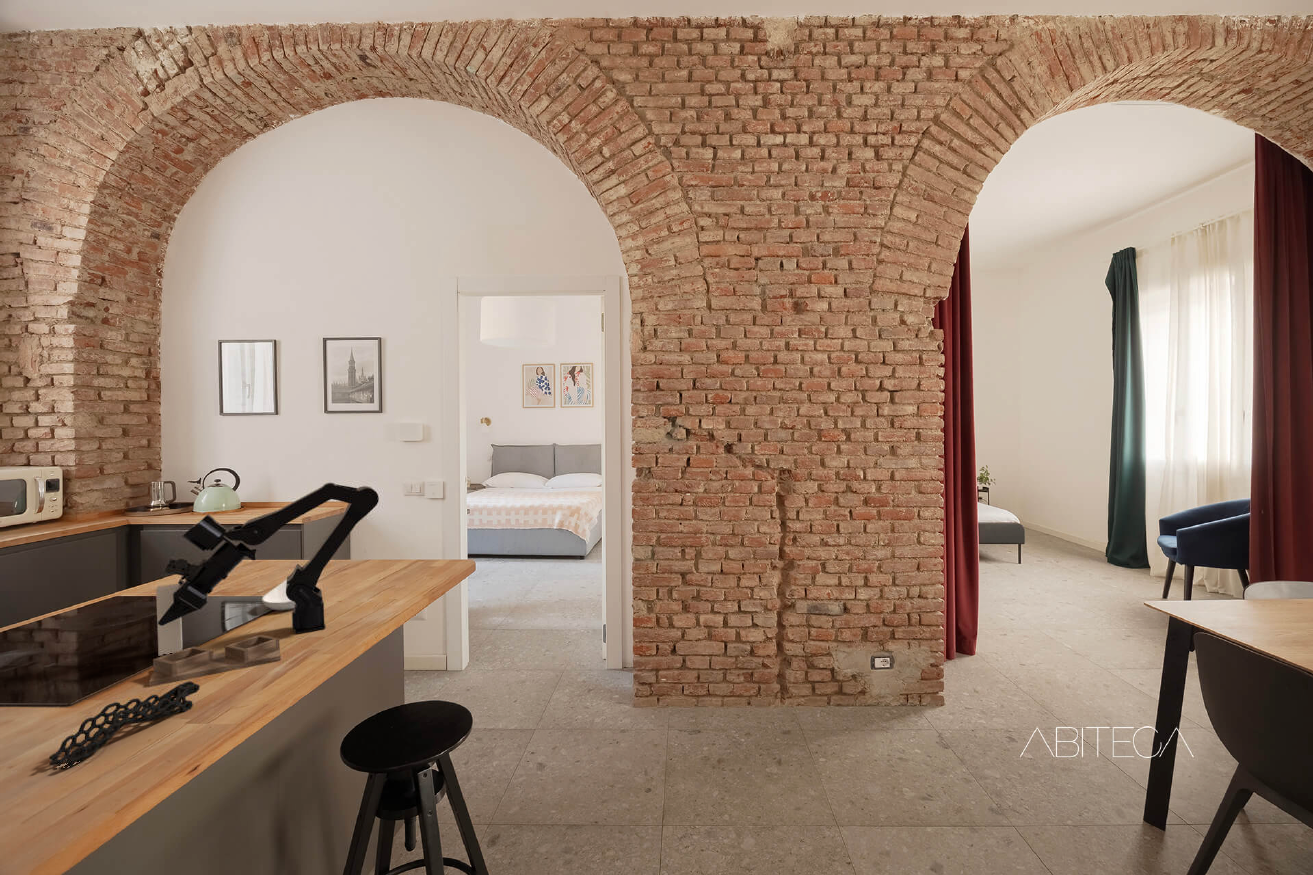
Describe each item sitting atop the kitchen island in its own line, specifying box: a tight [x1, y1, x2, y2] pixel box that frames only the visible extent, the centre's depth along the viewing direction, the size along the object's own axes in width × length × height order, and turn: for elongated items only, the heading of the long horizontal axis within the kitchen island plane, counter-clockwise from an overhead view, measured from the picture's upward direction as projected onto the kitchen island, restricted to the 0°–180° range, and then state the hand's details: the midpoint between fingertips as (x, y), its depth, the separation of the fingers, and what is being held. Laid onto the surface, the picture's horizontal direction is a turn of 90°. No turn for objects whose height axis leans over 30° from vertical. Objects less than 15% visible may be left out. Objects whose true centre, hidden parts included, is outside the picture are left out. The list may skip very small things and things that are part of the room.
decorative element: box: [48, 680, 201, 769], centre depth 101 cm, size 22×5×6 cm, turn 171°
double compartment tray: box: [149, 634, 282, 687], centre depth 129 cm, size 22×10×4 cm, turn 124°
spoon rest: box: [261, 578, 296, 611], centre depth 175 cm, size 24×12×7 cm, turn 15°
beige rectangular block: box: [155, 583, 183, 657], centre depth 137 cm, size 4×3×15 cm
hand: (162, 618), depth 136 cm, fingers open, 9 cm apart
